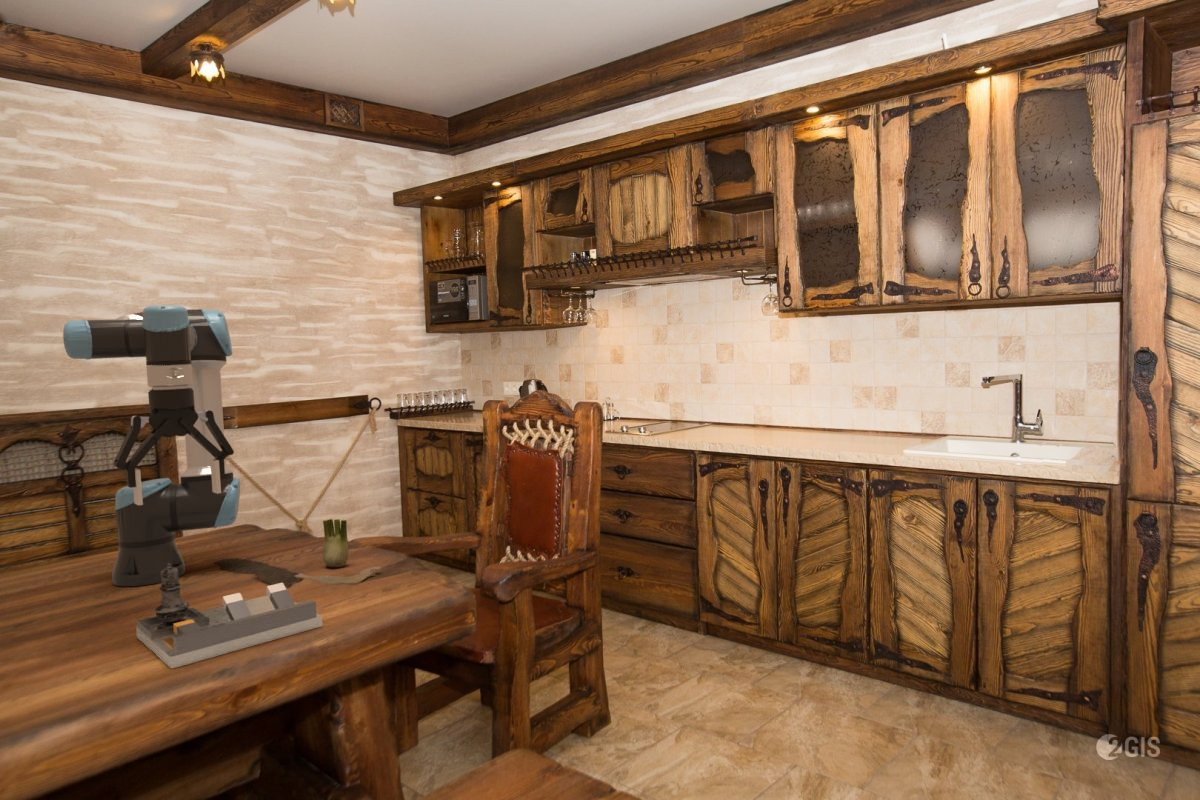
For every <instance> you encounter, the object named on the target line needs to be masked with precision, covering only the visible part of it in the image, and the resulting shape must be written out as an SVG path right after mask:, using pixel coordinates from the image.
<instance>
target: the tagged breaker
mask: <svg viewBox="0 0 1200 800" xmlns="http://www.w3.org/2000/svg"><path fill="white" fill-rule="evenodd" d="M173 626H174V632H175V633H176V634H177V635H178V634H182V633H186V632H190V631H194V630H198V629H201V627H200V626H199V625H198V624H197V623H195V622H194V621H193V620H192V619H190V620H186V621H182V622H178V623H174V624H173Z"/></svg>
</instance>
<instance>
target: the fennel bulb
mask: <svg viewBox="0 0 1200 800" xmlns="http://www.w3.org/2000/svg"><path fill="white" fill-rule="evenodd" d="M322 523H323V534H324V540H323V552H322V553H323V554H322V555H323V562H324V563H325V565H326V566H327V567H329V568H341V567H344V566H346V565H347V561H348V559H349V540H348V539H349V538H348V530H347V529H348V527H347V525H348V524H347V520H346V519H342V520H340V518H338V519H334V520H333V518H328V519H323V520H322Z"/></svg>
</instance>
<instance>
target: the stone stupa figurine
mask: <svg viewBox="0 0 1200 800" xmlns="http://www.w3.org/2000/svg"><path fill="white" fill-rule="evenodd" d="M170 565H171V564H170V563H168V565H167V566H168V567H166V568H165V569H163V570H162V571H161V582H160V583H161V587H160V588H159V590H160V591H161V602H160V605H158V606H157V607H155V608H154V609H153V612H154V613H155V616H157V617H158V619H159V620H161V621H162V622H163V623H162V624H160V625H159V626H158V627H157V629H162V628H167V627H171V626H173V624H174V623H178V622H182V621H186V620H185V619H182V618H184V617H185V615H186V614H187V612H188V608H189V607H190V603H189V601H183V598H182V596H181V588H182V584H181V583H180V576H178V569H177V568H175V567H172V566H170Z"/></svg>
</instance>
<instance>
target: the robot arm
mask: <svg viewBox="0 0 1200 800" xmlns="http://www.w3.org/2000/svg"><path fill="white" fill-rule="evenodd" d="M62 332H63V333H62V338H63V347H64V350H65V353H66V355H67V356H68V357H69V358H71V359H73V360H95V359H96V360H97V359H118V358H119V359H120V358H121V359H123V358H145V359H146V360H145V361H146V362H145V365H146V366H145V367H146V381H147V386H148V387H149V388H151V389H149V391H148V392H147V393H148V394H147V395H148V404H149V405H148V408H149V414H148V416H138V415H131V417H130V418H129V419H130V420H129V429H128V432H127V433H126V436H124V437H125V438H124V439H123V442H122V443H121V446H120V448H119V450H118V453H117V454H116V457H115V459H114V461H113V463H112V465H113V466H114V468H117V469H122V470H125V480H126V486H123V487H121V488H119V489H118V490H117V491H116V493H115V507H114V511H115V514H116V515H115V518H116V527H117V529H116V530H117V542H118V552H117V556H116V559H115V563H114V565H113V569H112V573H111V578H112V585H114V586H116V587H117V586H118V587H140V586H147V585H153V584H159V583H161V571H162V570H163V569H165V568H166V567H168V566H167V565H168V563H170V564H171V565H170V566H172V567H175V568H177V569H178V576H179V577H181V576H183V575H184V574H185V573H186V565H185V564H186V563H185V562H184V560H183V557H182V554H181V553H180V550H179V548H178V546H177V544H176V541H175V532H184V531H193V530H203V529H204V530H205V529H217V528H221V527H228V526H231V525H233V524H234V523H235V522H236V521H237V517H238V513H239V506H240V496H241V494H240V493H241V480H240V478H238V477H234V471H233V470H232V469H231V468H229V467H228V466H227V461H226V460H227V459H226V458H227V457H229V456H233V455H234V453H235V451H234V449H233V447H232V446H231V444H230V443H229V441H228V439H227V438H226V437H225V431H224V430H225V428H224V427H225V426H224V415H223V414H224V411H223V410H224V409H223V396H222V395H223V393H222V379H221V377H222V376H221V370H222V368H223V367H224V366H226V364H227V357H230V356H232V355H233V348H232V341H231V335H230V331H229V327H228V323H227V320H226V316H225V315H224V313H223V312H222V311H220V310H218V309H217V310H216V309H204V308H201V309H200V308H199V309H187V308H186V307H184V306H182V305H150V306H149V305H148V306H146V307H144V308H143V310H142V311H140V312H136V313H135V312H134V313H130V314H125V315H121V316H118V317H117V318H114V319H79V320H78V319H77V320H69V321H67V322H66V323H65V324H64V327H63V331H62ZM146 424H148V425H149V426H150V427H152V429H151V431H150V432H149V434H147V437H146V438H145V439H144V441H143V442H142V443H141V444H140V446H139V447H138V448H137V449H136V450H135V452H133V454H132V455H131V457H130V458H129V455H130V453H131V451H132V449H133V447H134V445H135V443H136V441H137V439H138V436H139V434H140V432H141V429H143V428H145V425H146ZM175 436H176V437H177V436H178V437H184V439H185V440H184V441H185V457H186V469H185V470H184V471H183V472H182V473H181V474H180V477H179V478H180V482H179V483H172V481H171V478H168V477H165V478H156V479H150V480H145V481H142V477H141V475H142V474H141V469H138V468H137V467H138V465H139V464H140V463H141V462H142V461H143V459H144V458H145V457H146V456H147V454H148V453H149V452H150V450H152V448H153V447H154V445H156V443H157V442H158V441H159V440H160V439H161V438H162V437H163V438H173V437H175ZM128 458H129V459H128Z"/></svg>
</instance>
